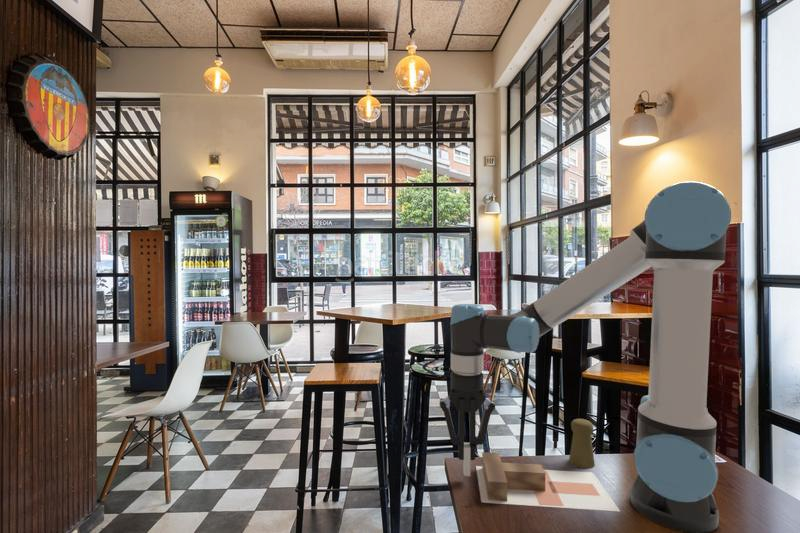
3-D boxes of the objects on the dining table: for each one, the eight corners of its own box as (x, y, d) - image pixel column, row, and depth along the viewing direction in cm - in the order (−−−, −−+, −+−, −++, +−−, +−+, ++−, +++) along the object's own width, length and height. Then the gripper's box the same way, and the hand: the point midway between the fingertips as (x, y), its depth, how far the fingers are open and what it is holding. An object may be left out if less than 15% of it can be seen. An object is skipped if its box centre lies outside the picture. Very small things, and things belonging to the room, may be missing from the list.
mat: (592, 473, 101) (592, 472, 101) (620, 512, 85) (620, 511, 85) (475, 466, 104) (475, 465, 104) (481, 503, 88) (481, 502, 88)
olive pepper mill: (597, 470, 102) (598, 425, 102) (571, 467, 103) (571, 423, 103) (591, 459, 108) (591, 417, 108) (567, 456, 109) (567, 415, 109)
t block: (536, 471, 101) (536, 454, 101) (550, 504, 87) (551, 485, 87) (482, 468, 103) (482, 452, 103) (488, 500, 89) (488, 481, 89)
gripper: (493, 368, 99) (493, 466, 99) (438, 366, 100) (438, 464, 100) (497, 376, 92) (497, 483, 92) (438, 374, 93) (438, 479, 93)
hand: (466, 473), depth 96 cm, fingers closed
